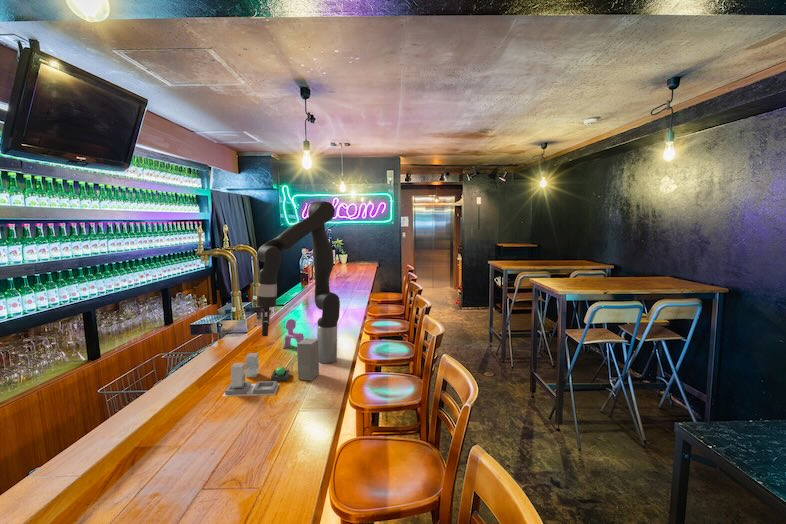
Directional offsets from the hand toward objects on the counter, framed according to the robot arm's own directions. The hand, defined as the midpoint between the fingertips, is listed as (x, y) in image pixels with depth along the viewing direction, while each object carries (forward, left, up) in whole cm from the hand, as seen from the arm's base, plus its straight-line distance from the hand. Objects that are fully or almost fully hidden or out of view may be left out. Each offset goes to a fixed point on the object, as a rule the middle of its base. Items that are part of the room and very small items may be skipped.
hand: (265, 333), depth 150 cm
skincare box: (-17, -2, -20) cm, 27 cm away
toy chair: (-6, -37, -20) cm, 42 cm away
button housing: (-6, +1, -20) cm, 21 cm away
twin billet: (+8, +11, -19) cm, 23 cm away
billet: (+6, -2, -20) cm, 21 cm away
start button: (-6, +1, -18) cm, 19 cm away
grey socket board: (+3, +11, -20) cm, 23 cm away
